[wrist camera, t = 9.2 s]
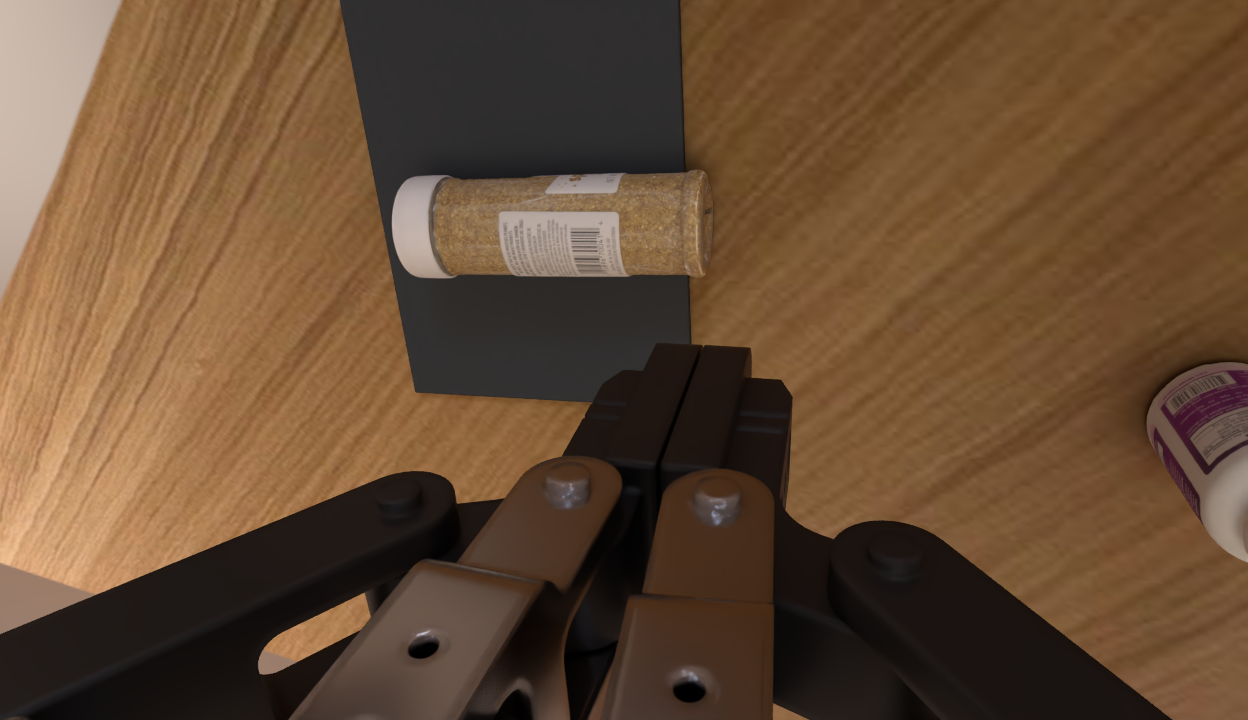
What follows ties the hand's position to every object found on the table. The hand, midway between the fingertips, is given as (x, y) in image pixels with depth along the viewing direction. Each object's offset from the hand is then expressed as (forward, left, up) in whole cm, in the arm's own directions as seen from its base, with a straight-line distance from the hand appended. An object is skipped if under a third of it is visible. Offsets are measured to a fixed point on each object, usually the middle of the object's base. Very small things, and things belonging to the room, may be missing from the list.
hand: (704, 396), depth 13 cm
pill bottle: (+12, +18, -24) cm, 33 cm away
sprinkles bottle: (+3, -3, -22) cm, 22 cm away
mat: (+3, -12, -24) cm, 27 cm away
